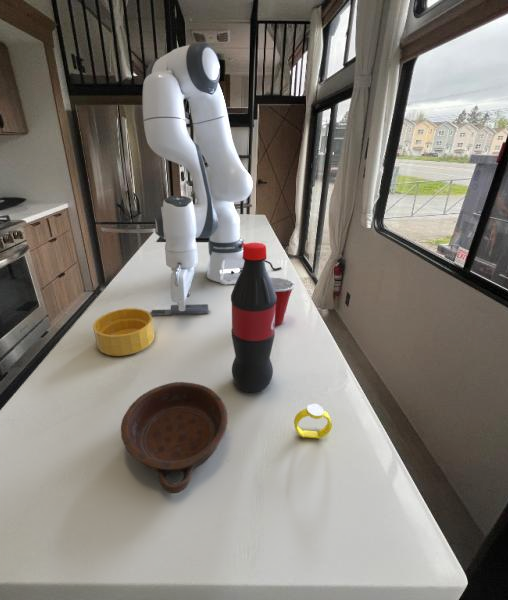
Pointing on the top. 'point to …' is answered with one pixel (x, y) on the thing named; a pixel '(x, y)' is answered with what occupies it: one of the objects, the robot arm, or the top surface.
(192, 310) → the grey spatula
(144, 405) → the dish
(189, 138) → the robot arm
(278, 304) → the plastic cup
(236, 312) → the cola bottle
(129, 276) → the top surface
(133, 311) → the bowl
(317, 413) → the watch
